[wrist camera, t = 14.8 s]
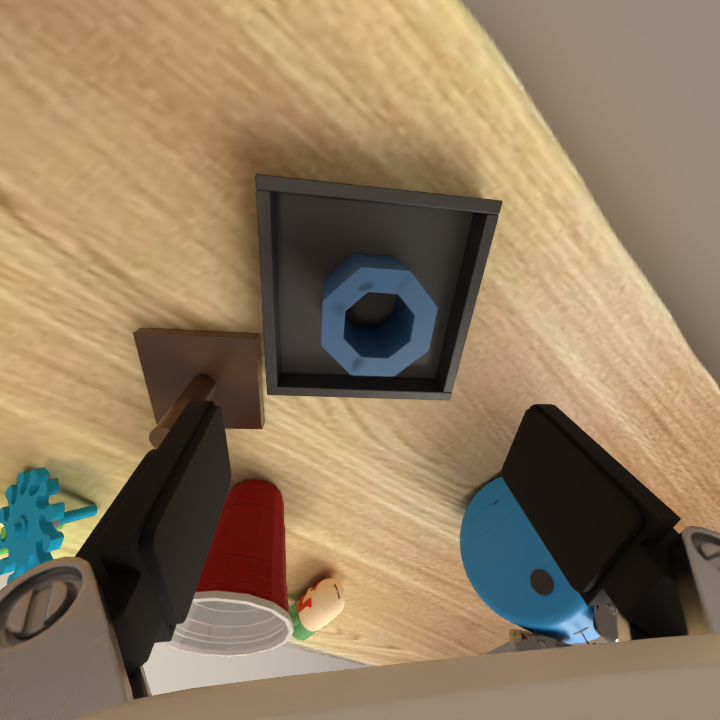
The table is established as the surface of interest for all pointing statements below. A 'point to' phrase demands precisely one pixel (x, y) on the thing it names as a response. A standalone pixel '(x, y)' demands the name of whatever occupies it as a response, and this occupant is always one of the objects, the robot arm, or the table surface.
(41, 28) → the table surface
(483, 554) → the alarm clock
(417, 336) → the ring
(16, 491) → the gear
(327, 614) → the toy figurine
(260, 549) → the plastic cup
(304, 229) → the tray
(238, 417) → the dowel stand
